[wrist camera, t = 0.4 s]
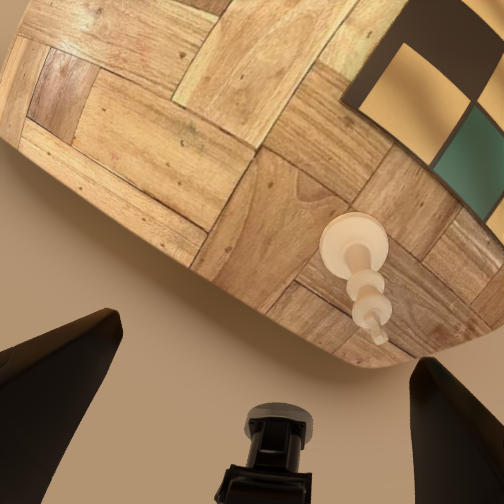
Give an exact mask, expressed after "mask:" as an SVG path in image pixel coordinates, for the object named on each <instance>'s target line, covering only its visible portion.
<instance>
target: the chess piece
mask: <svg viewBox="0 0 504 504" xmlns="http://www.w3.org/2000/svg"><path fill="white" fill-rule="evenodd" d="M319 247H320V254H321V257H322V260H323V262H324V264H325V266H326V267H327V268H328V270H329V271H330V272H332V273H333V274H334V275H336V276H338V277H340V278H343V279H347V280H348V282H347V293H348V295H349V297H350V298H351V299H352V300H353V301H354V302H355V303H354V305H353V308H352V318H353V321H354V322H355V323H356V325H358V326H359V327H361V328H364V329H370V330H371V335H372V340H373V341H374V343H375V344H376V345H379V344H380V345H381V344H383V343H385V342H386V341H388V340H389V339H388V336H387V333H386V332H385V330H384V329H383V327H382V325H384V324H385V323H386V322H387V321H388V320H389V318H390V316H391V314H392V305H391V302H390V301H389V299H388V298H387V297H386V296H385V295H384V294H382V293H383V291H384V279H383V277H382V275H381V274H380V273H378V272H377V271H378V270H379V269H380V267H381V266H382V265H383V263H384V262H385V260H386V257H387V254H388V247H389V245H388V238H387V234H386V231H385V229H384V227H383V226H382V224H381V223H380V222H379V221H378V220H377V219H375V218H374V217H372V216H370V215H368V214H365V213H361V212H350V213H345V214H342V215H340V216H338V217H336V218H335V219H333V220H332V221H331V222H330V223H329V224H328V225H327V226H326V228H325V229H324V231H323V233H322V235H321V238H320V246H319Z"/></svg>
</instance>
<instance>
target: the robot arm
mask: <svg viewBox="0 0 504 504" xmlns="http://www.w3.org/2000/svg"><path fill="white" fill-rule="evenodd" d="M122 337H123V329H122V324H121V320H120V315H119V313H118V311H116V310H114V309H110V308H104V309H102V310H99V311H97V312H95V313H92V314H90V315H88V316H85V317H83V318H80V319H78V320H75V321H73V322H71V323H68V324H66V325H64V326H61V327H59V328H56V329H54V330H51V331H49V332H47V333H44V334H42V335H40V336H37V337H35V338H33V339H30V340H28V341H25V342H23V343H21V344H18V345H16V346H14V347H11V348H9V349H6V350H4V351H1V352H0V504H41V502H42V500H43V497H44V495H45V493H46V491H47V488H48V486H49V484H50V482H51V480H52V477H53V475H54V473H55V471H56V469H57V467H58V465H59V463H60V461H61V459H62V457H63V455H64V453H65V451H66V449H67V447H68V445H69V443H70V441H71V439H72V437H73V435H74V433H75V431H76V429H77V428H78V426H79V424H80V422H81V420H82V418H83V416H84V414H85V412H86V411H87V409H88V407H89V405H90V403H91V402H92V400H93V398H94V396H95V394H96V392H97V391H98V389H99V387H100V385H101V384H102V381H103V380H104V378H105V376H106V374H107V372H108V370H109V367H110V365H111V363H112V360H113V358H114V356H115V353H116V351H117V349H118V347H119V345H120V342H121V340H122ZM409 389H410V429H411V440H412V449H413V463H414V480H415V504H504V426H503V425H502V424H501V423H500V422H499V421H498V420H497V419H496V417H495V416H494V415H493V414H492V413H491V412H490V411H489V410H488V409H487V408H486V407H485V406H484V405H483V404H482V403H481V402H480V401H479V400H478V399H477V398H476V397H475V396H474V395H473V394H472V393H471V392H470V391H469V390H468V389H467V388H466V387H465V386H464V385H463V384H462V383H461V382H460V381H459V380H457V378H456V377H454V376H453V375H452V374H451V373H450V372H449V371H448V370H447V369H446V368H445V367H444V366H443V365H442V364H441V363H440V362H439V361H438V360H437V359H436V358H434V357H421V358H420V360H419V361H418V363H417V365H416V367H415V369H414V371H413V373H412V375H411V377H410V382H409ZM248 425H249V431H250V437H251V446H250V451H249V455H248V459H247V464H246V467H242V466H236V465H234V464H231V466H230V469H226V472H225V476H224V479H223V482H222V484H221V485H220V488H219V489H218V491H217V493H216V495H215V497H214V500H215V501H216V502H217V504H311V485H312V473H298V468H299V460H300V451H301V450H303V449H304V445H305V436H306V425H307V423H306V422H304V421H285V420H270V419H258V418H250V419H249V421H248Z"/></svg>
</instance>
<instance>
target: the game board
mask: <svg viewBox="0 0 504 504" xmlns="http://www.w3.org/2000/svg"><path fill="white" fill-rule="evenodd" d="M339 102H340V103H342V104H343V105H345V106H346V107H348V108H349V109H350V110H352V111H353V112H355V113H356V114H357V115H359V116H360V117H362V118H363V119H364V120H366V121H367V122H368V123H370V124H371V125H372V126H374V127H375V128H376V129H378V130H379V131H380V132H382V133H383V134H384V135H386V136H387V137H388V138H389V139H391V140H392V141H393V142H394V143H396V144H397V145H398V146H399V147H400V148H402V149H403V150H404V151H405V152H406V153H408V154H409V155H410V156H411V157H412V158H414V159H415V160H416V161H417V162H418V163H419V164H420V165H422V166H423V167H424V168H425V169H426V170H427V171H428V172H429V173H430V174H431V175H433V176H434V177H435V178H436V179H437V180H438V181H439V182H440V183H441V184H442V185H443V186H444V187H445V188H446V189H447V190H448V191H449V192H450V193H451V194H452V195H453V196H454V197H455V198H456V199H457V200H458V201H459V202H460V203H461V204H462V205H463V206H464V207H465V208H466V209H467V210H468V211H469V212H470V213H471V214H472V215H473V216H474V217H475V218H476V220H477V221H478V222H479V223H480V224H481V225H482V226H483V227H484V228H485V230H486V231H487V232H488V233H489V234H490V235H491V237H492V238H493V239H494V240H495V241H496V242H497V244H498V245H499V246H500V247H501V249H502V250H503V251H504V0H408V1H407V2H406V4H405V5H404V7H403V8H402V10H401V11H400V12H399V14H398V15H397V17H396V18H395V19H394V21H393V22H392V24H391V25H390V27H389V28H388V29H387V31H386V32H385V34H384V35H383V37H382V38H381V40H380V41H379V42H378V44H377V45H376V47H375V48H374V50H373V51H372V53H371V54H370V55H369V57H368V58H367V60H366V61H365V63H364V64H363V66H362V67H361V68H360V70H359V71H358V73H357V74H356V76H355V77H354V79H353V80H352V82H351V83H350V85H349V86H348V87H347V89H346V90H345V92H344V93H343V95H342V96H341V98H340V99H339Z"/></svg>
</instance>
